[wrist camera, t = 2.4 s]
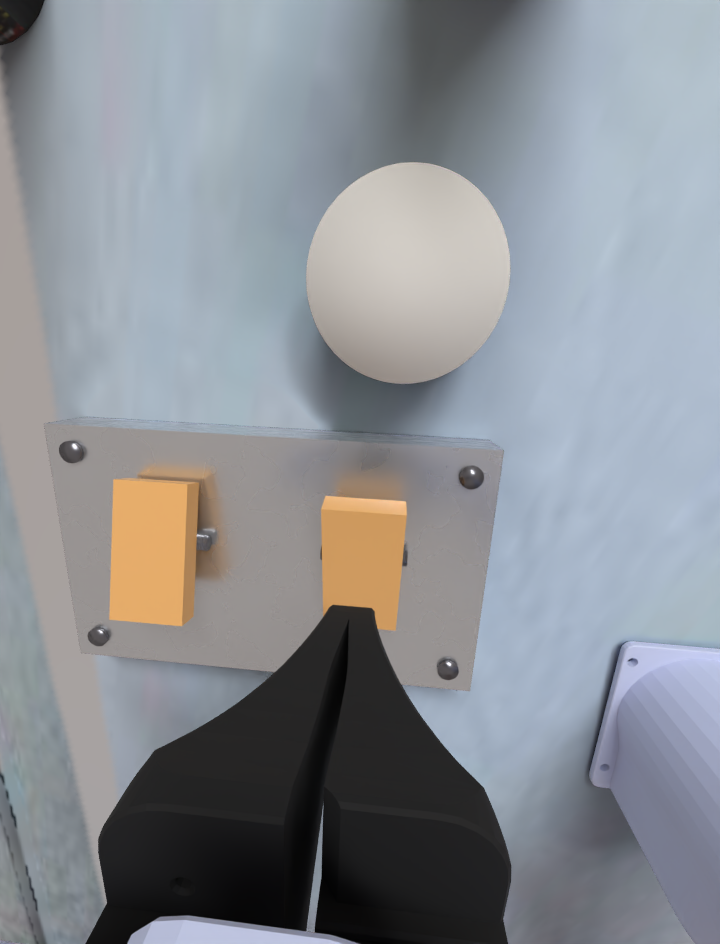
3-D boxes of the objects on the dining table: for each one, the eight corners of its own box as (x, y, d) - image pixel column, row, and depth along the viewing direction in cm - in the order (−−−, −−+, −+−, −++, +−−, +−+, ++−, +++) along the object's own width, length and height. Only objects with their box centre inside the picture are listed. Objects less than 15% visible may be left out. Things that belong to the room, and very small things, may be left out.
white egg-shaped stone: (473, 384, 18) (495, 388, 14) (323, 377, 19) (305, 379, 15) (493, 212, 16) (525, 163, 12) (326, 208, 17) (307, 160, 13)
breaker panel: (461, 655, 22) (472, 702, 19) (113, 623, 23) (69, 662, 20) (489, 439, 19) (508, 454, 15) (85, 416, 20) (29, 425, 17)
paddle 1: (193, 616, 18) (181, 626, 17) (125, 610, 18) (109, 619, 17) (199, 482, 17) (187, 484, 16) (128, 477, 17) (113, 479, 16)
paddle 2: (395, 613, 18) (395, 630, 17) (326, 607, 18) (323, 624, 17) (406, 501, 15) (406, 515, 15) (325, 495, 16) (320, 509, 15)
